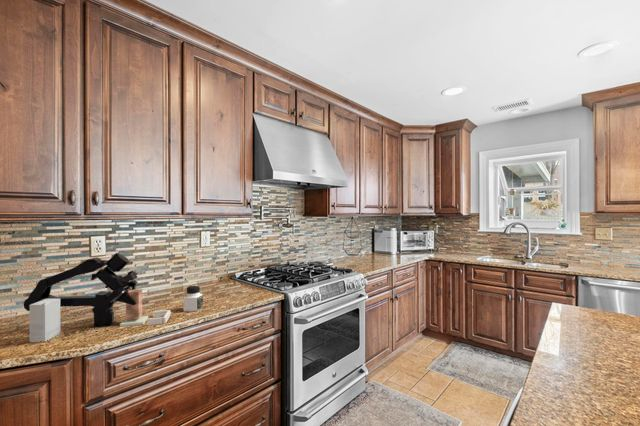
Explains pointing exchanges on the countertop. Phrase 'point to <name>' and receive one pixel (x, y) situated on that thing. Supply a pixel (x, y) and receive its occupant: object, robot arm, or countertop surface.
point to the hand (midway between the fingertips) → (137, 302)
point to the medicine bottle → (193, 299)
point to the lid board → (134, 321)
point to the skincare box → (44, 320)
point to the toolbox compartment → (159, 320)
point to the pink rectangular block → (136, 309)
